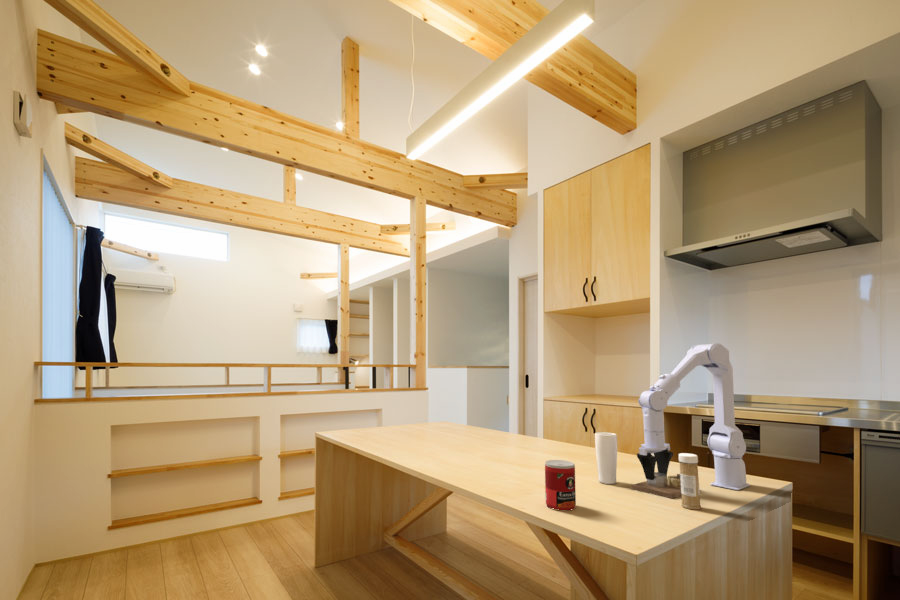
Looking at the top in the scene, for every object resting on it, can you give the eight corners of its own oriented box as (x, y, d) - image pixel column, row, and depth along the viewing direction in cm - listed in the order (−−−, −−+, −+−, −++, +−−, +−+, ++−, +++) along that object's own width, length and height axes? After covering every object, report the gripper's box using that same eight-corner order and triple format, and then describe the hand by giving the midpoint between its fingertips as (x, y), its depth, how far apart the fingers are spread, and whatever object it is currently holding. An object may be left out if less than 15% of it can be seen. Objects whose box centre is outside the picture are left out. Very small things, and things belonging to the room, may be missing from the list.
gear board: (659, 481, 148) (658, 467, 148) (698, 489, 138) (697, 474, 139) (632, 489, 138) (631, 474, 138) (672, 498, 128) (671, 482, 129)
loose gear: (653, 482, 142) (652, 471, 142) (670, 485, 138) (669, 474, 138) (644, 484, 138) (643, 473, 139) (661, 488, 134) (660, 477, 135)
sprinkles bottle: (704, 508, 120) (701, 454, 122) (695, 511, 117) (691, 456, 119) (687, 503, 124) (684, 452, 125) (677, 506, 121) (674, 453, 123)
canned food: (559, 512, 115) (558, 467, 117) (539, 504, 122) (538, 461, 124) (582, 508, 119) (581, 464, 120) (561, 500, 126) (560, 458, 127)
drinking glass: (621, 481, 146) (619, 433, 148) (616, 486, 141) (614, 435, 143) (599, 478, 150) (597, 431, 152) (593, 483, 144) (592, 434, 146)
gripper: (653, 427, 148) (655, 471, 146) (628, 431, 139) (630, 478, 137) (675, 430, 142) (678, 476, 140) (651, 434, 133) (653, 483, 132)
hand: (656, 477), depth 138 cm, fingers open, 7 cm apart
